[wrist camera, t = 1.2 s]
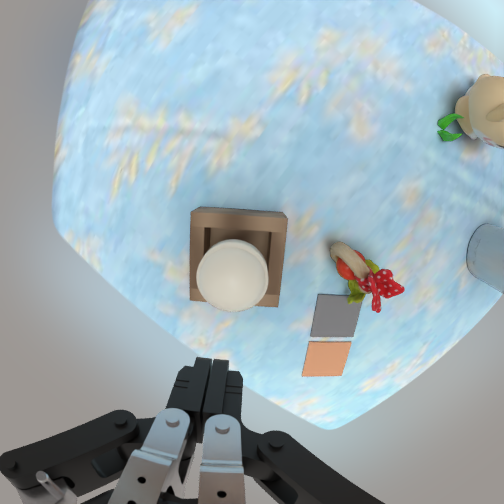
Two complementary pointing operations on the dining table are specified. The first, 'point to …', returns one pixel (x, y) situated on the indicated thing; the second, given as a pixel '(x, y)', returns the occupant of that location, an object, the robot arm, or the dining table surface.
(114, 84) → the dining table surface
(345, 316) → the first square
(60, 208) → the dining table surface
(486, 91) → the kitten
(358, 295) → the bird rattle
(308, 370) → the tile
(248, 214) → the button frame
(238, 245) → the dome button
